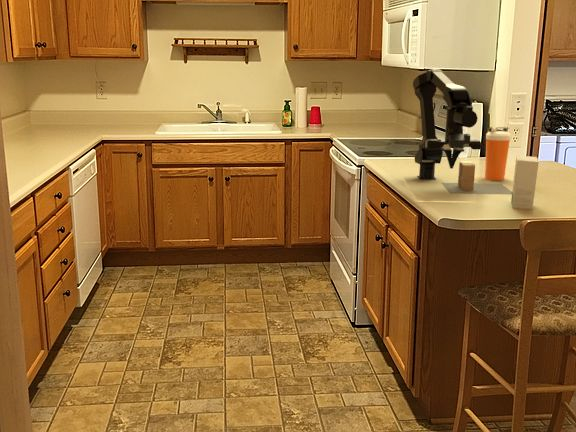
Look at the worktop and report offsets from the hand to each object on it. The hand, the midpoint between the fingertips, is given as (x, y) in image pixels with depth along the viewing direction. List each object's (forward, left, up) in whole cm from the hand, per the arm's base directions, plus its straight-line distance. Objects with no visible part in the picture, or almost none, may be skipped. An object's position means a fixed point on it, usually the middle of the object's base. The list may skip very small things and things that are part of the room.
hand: (451, 168), depth 228 cm
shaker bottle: (-19, +21, -8) cm, 29 cm away
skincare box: (+24, +19, -8) cm, 31 cm away
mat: (0, +10, -8) cm, 12 cm away
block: (0, +6, -7) cm, 9 cm away
